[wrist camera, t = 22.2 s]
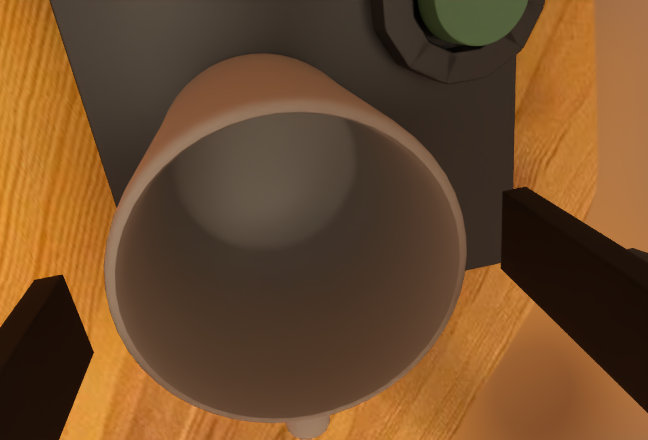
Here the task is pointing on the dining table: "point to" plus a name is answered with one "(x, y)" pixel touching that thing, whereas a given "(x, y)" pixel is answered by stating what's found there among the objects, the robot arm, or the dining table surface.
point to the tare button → (471, 19)
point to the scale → (325, 55)
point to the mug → (282, 247)
